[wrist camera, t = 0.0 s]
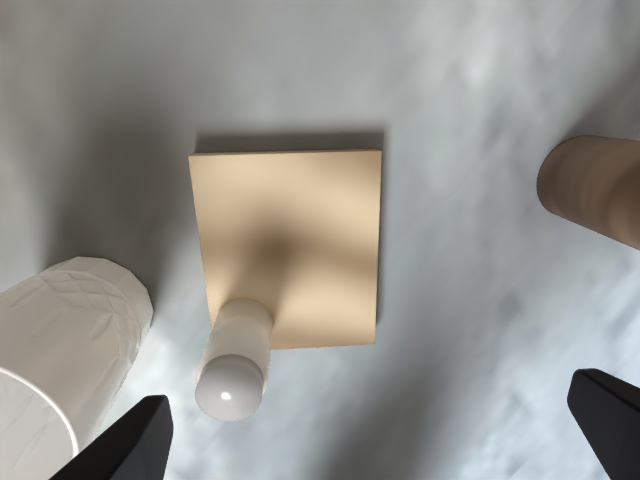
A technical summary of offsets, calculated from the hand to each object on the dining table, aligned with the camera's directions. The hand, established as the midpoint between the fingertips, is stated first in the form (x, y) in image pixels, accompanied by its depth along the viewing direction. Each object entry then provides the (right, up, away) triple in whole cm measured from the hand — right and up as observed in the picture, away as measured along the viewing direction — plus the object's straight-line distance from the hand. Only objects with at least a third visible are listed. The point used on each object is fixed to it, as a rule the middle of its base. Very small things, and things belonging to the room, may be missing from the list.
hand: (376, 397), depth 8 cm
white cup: (-15, 0, +15) cm, 21 cm away
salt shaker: (-6, -2, +15) cm, 16 cm away
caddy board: (-3, +3, +14) cm, 15 cm away
